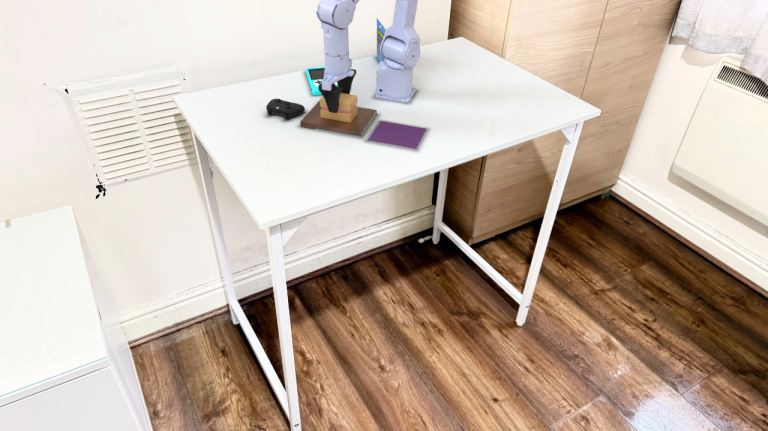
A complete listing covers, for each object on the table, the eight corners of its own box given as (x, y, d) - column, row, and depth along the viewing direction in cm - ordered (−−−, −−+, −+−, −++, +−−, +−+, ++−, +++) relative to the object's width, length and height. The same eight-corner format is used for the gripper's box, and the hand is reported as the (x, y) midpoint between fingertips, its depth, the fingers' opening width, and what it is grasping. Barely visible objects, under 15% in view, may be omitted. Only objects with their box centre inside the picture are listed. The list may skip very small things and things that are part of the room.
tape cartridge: (396, 67, 159) (397, 26, 151) (383, 68, 158) (384, 27, 150) (387, 56, 166) (388, 16, 158) (375, 57, 165) (376, 17, 157)
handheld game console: (312, 95, 143) (312, 91, 143) (305, 71, 155) (305, 67, 155) (348, 92, 145) (348, 87, 144) (338, 69, 157) (338, 64, 156)
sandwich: (320, 117, 131) (319, 99, 128) (328, 108, 135) (327, 90, 132) (350, 122, 129) (350, 104, 126) (357, 113, 133) (357, 95, 130)
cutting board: (300, 126, 130) (300, 121, 129) (319, 105, 139) (319, 100, 138) (361, 137, 127) (361, 132, 126) (376, 115, 136) (376, 109, 135)
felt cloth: (367, 141, 125) (367, 140, 125) (380, 121, 133) (380, 120, 133) (416, 149, 123) (416, 148, 123) (426, 129, 130) (426, 128, 130)
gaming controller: (307, 107, 136) (297, 99, 130) (300, 127, 136) (290, 119, 130) (276, 99, 139) (264, 91, 133) (269, 118, 139) (258, 111, 133)
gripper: (341, 66, 115) (343, 121, 124) (363, 43, 126) (363, 94, 135) (311, 62, 117) (316, 116, 125) (336, 39, 128) (338, 90, 136)
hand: (339, 105), depth 130 cm, fingers open, 7 cm apart
